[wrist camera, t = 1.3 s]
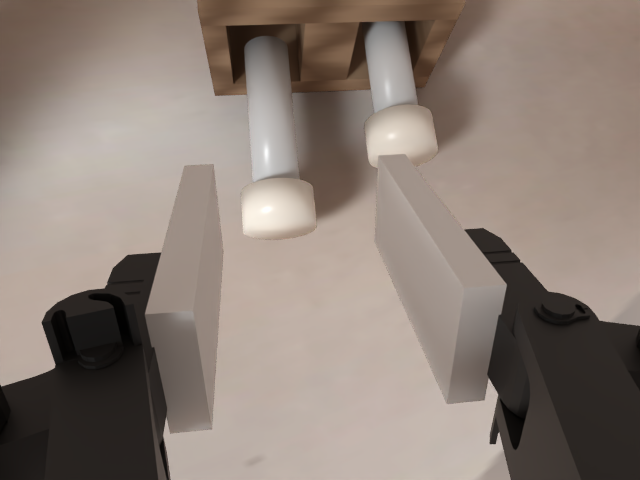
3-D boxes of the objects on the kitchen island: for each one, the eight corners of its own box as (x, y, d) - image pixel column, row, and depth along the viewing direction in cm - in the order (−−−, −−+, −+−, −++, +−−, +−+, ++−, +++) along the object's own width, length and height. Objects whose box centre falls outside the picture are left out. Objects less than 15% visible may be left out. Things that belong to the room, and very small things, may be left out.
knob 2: (427, 168, 37) (447, 138, 33) (363, 171, 37) (375, 142, 33) (401, 13, 41) (417, -32, 37) (343, 15, 40) (351, -31, 36)
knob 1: (314, 237, 35) (319, 215, 31) (245, 241, 35) (240, 220, 30) (297, 68, 39) (300, 26, 34) (234, 70, 38) (229, 28, 34)
